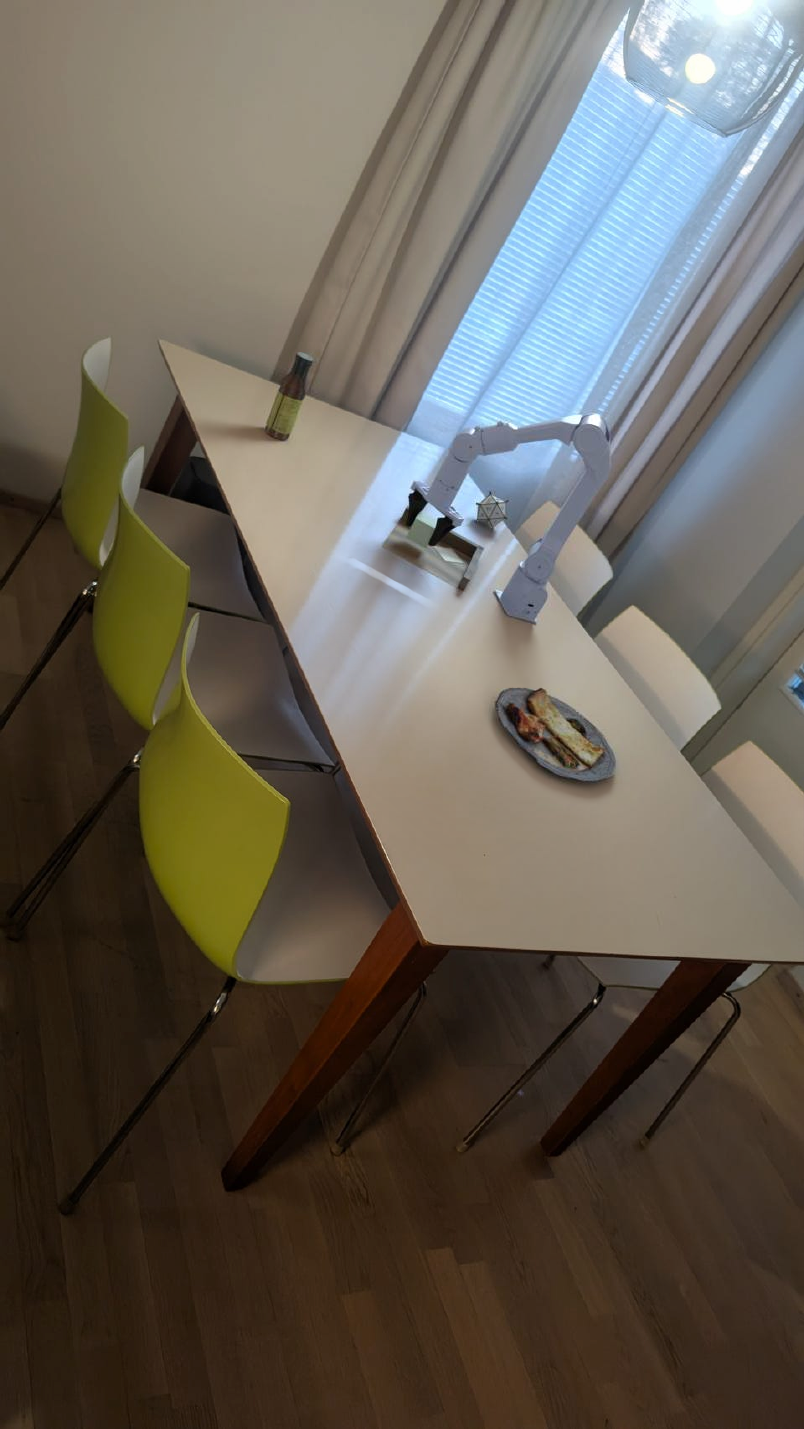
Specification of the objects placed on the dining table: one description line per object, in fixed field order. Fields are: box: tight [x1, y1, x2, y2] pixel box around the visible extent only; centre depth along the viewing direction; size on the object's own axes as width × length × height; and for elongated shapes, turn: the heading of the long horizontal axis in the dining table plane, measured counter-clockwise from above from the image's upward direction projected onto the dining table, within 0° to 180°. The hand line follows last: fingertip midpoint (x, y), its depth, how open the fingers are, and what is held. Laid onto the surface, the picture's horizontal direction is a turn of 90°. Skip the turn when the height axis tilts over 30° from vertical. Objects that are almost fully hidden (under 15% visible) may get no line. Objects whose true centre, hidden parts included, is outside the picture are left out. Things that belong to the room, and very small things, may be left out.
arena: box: [381, 505, 485, 592], centre depth 232 cm, size 20×20×4 cm
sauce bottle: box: [264, 351, 314, 441], centre depth 243 cm, size 7×6×20 cm
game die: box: [475, 490, 510, 531], centre depth 261 cm, size 9×8×10 cm
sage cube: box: [406, 510, 437, 548], centre depth 229 cm, size 5×5×5 cm
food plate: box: [494, 687, 617, 782], centre depth 193 cm, size 25×23×4 cm
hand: (420, 535), depth 229 cm, fingers closed on sage cube, 7 cm apart
